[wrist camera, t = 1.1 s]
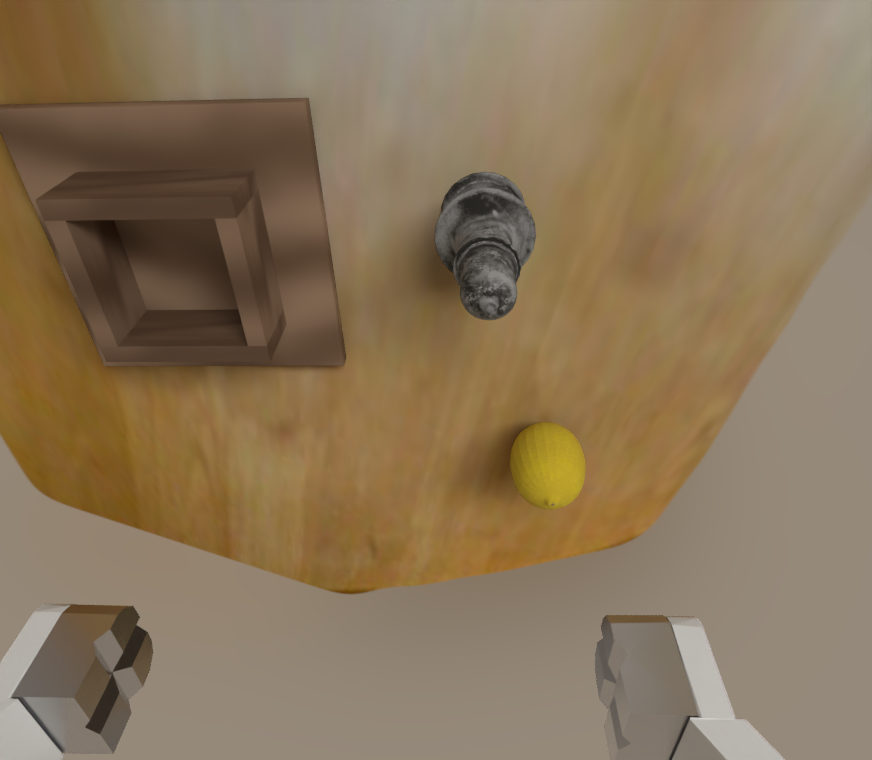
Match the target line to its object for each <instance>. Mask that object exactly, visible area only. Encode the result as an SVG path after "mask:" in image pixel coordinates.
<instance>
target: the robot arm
mask: <svg viewBox="0 0 872 760" xmlns="http://www.w3.org/2000/svg"><path fill="white" fill-rule="evenodd" d="M139 618H140V616H139V615H138V613H137V611H136V610H135V608H134V607H133V606H109V605H77V604H43V605H42V606H41V607H39V608H38V609H37V610H36V611H34V613H33V614H32V615H31V617H30V618H29V620H28V621H27V623H26V624H25V626H24V627H23V629H22V630H21V632H20V633H19V635H18V636H17V638H16V639H15V641H14V643H13V644H12V646H11V647H10V649H9V650H8V652H7V653H6V655H5V656H4V658H3V659H2V661H1V662H0V760H61V759H62V758H63V757H64V755H63V753H81V754H85V753H86V754H87V753H88V754H93V753H94V754H95V753H96V754H100V753H101V754H109V753H110V754H111V753H112V754H113V753H114V751H115V749H116V747H117V744H118V742H119V740H120V738H121V736H122V733H123V731H124V729H125V726H126V724H127V722H128V720H129V717H130V715H131V709H130V704H129V700H128V699H130V698H131V697H132V696H133V695H134V694H135V693H136V692H137V691H138V690H140V689H141V688H142V687H143V685H144V683H145V681H146V678H147V676H148V673H149V671H150V667H151V661H152V655H153V648H152V640H151V638H150V636H149V634H148V632H147V631H145V630H143V629H142V628H140V627H139V626H137V625H136V624H137V622H138V620H139ZM601 630H602V636H603V639H602V640H600V641H599V642H597V648H596V653H595V673H596V681H597V688H598V694H599V699H600V700H601V702H602V703H603V704H604V705H605V706H606V707H607V709H608V714H607V718H606V722H605V726H604V728H605V734H606V739H607V744H608V750H609V755H610V760H785V759H784V758H783V757H782V756H781V755H780V754H779V753H778V752H777V751H776V750H775V749H774V748H773V747H772V746H771V745H770V744H769V743H768V742H767V740H766V739H764V738H763V737H762V735H760V733H759V732H758V731H756V729H755V728H754V727H753V726H752V725H751V724H750V723H749V722H748V721H747V720H746V719H739V718H736V717H735V715H734V712H733V709H732V706H731V703H730V701H729V698H728V695H727V692H726V690H725V687H724V684H723V682H722V678H721V676H720V673H719V670H718V667H717V664H716V662H715V659H714V656H713V653H712V650H711V647H710V645H709V642H708V639H707V637H706V634H705V631H704V628H703V625H702V623H701V622H700V621H699V620H698V618H696V617H693V616H692V617H690V616H663V615H606V616H605V617H604V618H603V620H602V625H601Z"/></svg>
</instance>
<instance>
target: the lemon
mask: <svg viewBox="0 0 872 760" xmlns="http://www.w3.org/2000/svg"><path fill="white" fill-rule="evenodd" d="M510 469H511V473H512V477H513V481H514V483H515V486H516V488H517V490H518V491H519V493H520V494H521V495H522V497H523V498H524V499H525V500H526V501H528V502H529V503H530V504H532V505H534V506H536V507H538V508H542V509H550V510H551V509H558V508H562V507H564V506H566V505H568V504H569V503H571V502H572V501H573V500H575V498H576V497H577V496H578V495H579V493H580V491H581V489H582V486H583V484H584V479H585V458H584V454H583V451H582V448H581V446H580V444H579V442H578V440H577V439H576V438H575V436H574V435H573V434H572V433H571V432H570V431H569V430H567V429H566V428H565V427H563V426H561V425H558V424H556V423H551V422H540V423H535V424H533V425H530V426H529V427H527V428H526V429H524V430H523V431H522V432H521V433H520V434H519V435H518V436H517V438H516V440H515V442H514V444H513V446H512V449H511V456H510Z"/></svg>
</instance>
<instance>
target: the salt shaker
mask: <svg viewBox="0 0 872 760" xmlns="http://www.w3.org/2000/svg"><path fill="white" fill-rule="evenodd" d="M535 238H536V232H535V223H534V220H533V218H532V215H531V213H530V211H529V209H528V208H527V207H526V206H525V201H524V199H523V196H522V194H521V192H520V190H519V189H518V188H517V186H516V185H515V184H514V183H513V182H511V181H510V180H509V179H507V178H506V177H504V176H501V175H499V174H496V173H490V172H480V173H474V174H470V175H468V176H466V177H464V178H462V179H460V180H459V181H458V182H457V183H455V184H454V185H453V186H452V187H451V189H450V190H449V192H448V193H447V194H446V196H445V199H444V202H443V204H442V213H441V214H440V216H439V219H438V222H437V224H436V228H435V244H436V249H437V253H438V255H439V257H440V258H441V260H442V262H443V263H444V265H445V266H446V267H447V268H448V269H449V270H450V271H451V272H453V273H454V276H455V278H456V280H457V282H458V284H459V285H460V296H461V301H462V303H463V305H464V307H465V309H466V310H467V311H468V312H469V313H470V314H471V315H473V316H474V317H476V318H479V319H482V320H495V319H499V318H501V317H503V316H505V315H506V314H508V313H509V312H510V311H511V310H512V308H513V306H514V304H515V302H516V298H517V288H516V282H517V280H518V278H519V276H520V270H521V267H522V266H523V265H524V264H525V263H526V261H527V260H528V259H529V257H530V255H531V253H532V251H533V249H534V243H535Z"/></svg>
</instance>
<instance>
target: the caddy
mask: <svg viewBox="0 0 872 760" xmlns="http://www.w3.org/2000/svg"><path fill="white" fill-rule="evenodd" d="M0 132H1V134H2V136H3V139H4V141H5V143H6V145H7V148H8V150H9V152H10V154H11V157H12V159H13V161H14V163H15V166H16V168H17V170H18V172H19V175H20V177H21V179H22V181H23V184H24V186H25V188H26V190H27V193H28V195H29V197H30V199H31V202H32V204H33V206H34V208H35V211H36V213H37V215H38V217H39V220H40V222H41V224H42V226H43V229H44V231H45V233H46V235H47V238H48V240H49V242H50V244H51V247H52V249H53V251H54V253H55V256H56V258H57V260H58V262H59V265H60V267H61V269H62V271H63V274H64V276H65V278H66V281H67V283H68V285H69V287H70V290H71V292H72V294H73V296H74V299H75V301H76V303H77V305H78V308H79V310H80V312H81V314H82V317H83V319H84V321H85V323H86V326H87V328H88V330H89V332H90V335H91V337H92V339H93V341H94V344H95V346H96V348H97V350H98V353H99V355H100V357H101V359H102V362H103V364H104V366H344V364H345V360H346V354H345V347H344V340H343V333H342V326H341V319H340V312H339V305H338V298H337V291H336V284H335V278H334V271H333V264H332V257H331V250H330V243H329V236H328V229H327V222H326V215H325V209H324V202H323V195H322V188H321V181H320V174H319V167H318V160H317V153H316V146H315V139H314V133H313V126H312V119H311V112H310V105H309V98H281V99H237V100H193V101H148V102H104V103H59V104H15V105H0Z"/></svg>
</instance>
